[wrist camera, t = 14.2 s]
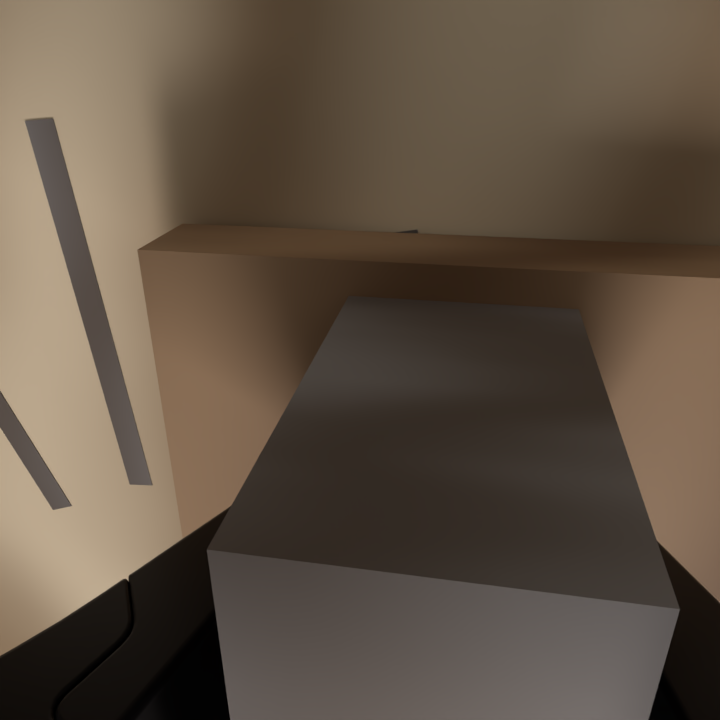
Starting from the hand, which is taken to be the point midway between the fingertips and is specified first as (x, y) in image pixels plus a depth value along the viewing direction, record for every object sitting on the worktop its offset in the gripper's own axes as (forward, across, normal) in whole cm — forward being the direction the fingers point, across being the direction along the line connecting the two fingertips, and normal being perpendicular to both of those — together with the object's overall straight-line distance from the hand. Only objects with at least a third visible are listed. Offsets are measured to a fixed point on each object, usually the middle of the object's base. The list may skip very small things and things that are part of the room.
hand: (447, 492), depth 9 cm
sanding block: (+2, 0, 0) cm, 2 cm away
